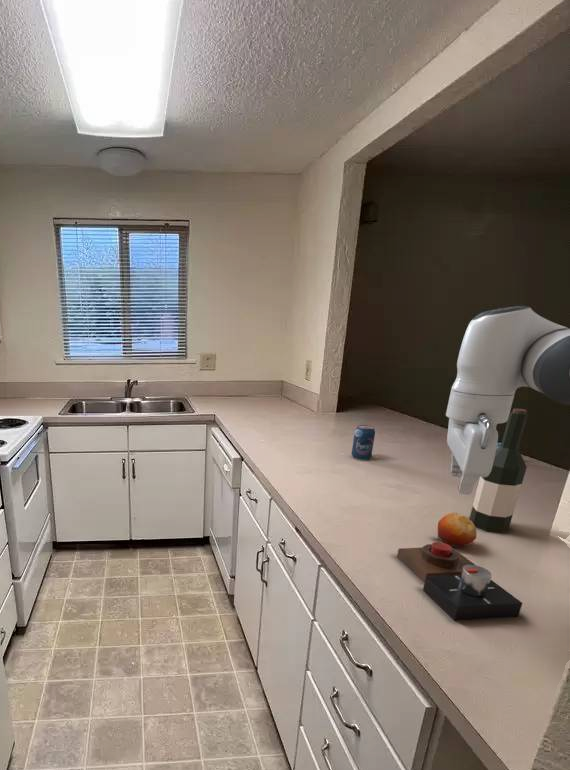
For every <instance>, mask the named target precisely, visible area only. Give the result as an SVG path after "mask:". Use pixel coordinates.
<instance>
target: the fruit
mask: <svg viewBox="0 0 570 770" xmlns="http://www.w3.org/2000/svg"><path fill="white" fill-rule="evenodd" d="M476 539H477V527H475V525H474V524H473V522H472V521H471V520H470V519H469V518H468V517H467V516H465V515H462V514H459V513H458V512H450V513H448V514H445V515H444V516H443V517H441V518H440V520H438V523H437V537H435V538H434V540H441V541H443V543H446V544H448V545H450V546H453V547H455V548H463V547H466V546H468V545H470V544H472V543H473V542H474V541H475V540H476Z"/></svg>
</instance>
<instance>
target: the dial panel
mask: <svg viewBox="0 0 570 770" xmlns="http://www.w3.org/2000/svg"><path fill="white" fill-rule="evenodd" d="M459 580H460V576H450V577H430V578H426V579H425V583H424V585H423V589H422V591H423V592H424V593H425V594H426V595H427V596H428V597H429V598H430V599H431V600H432V601H433V602H434V603H435V604H436V605H437V606H439V608H441V609H442V610H443V611H444V612H445V613H446V614H447V615H448V616H449V617H450V618H451V619H452V620H453V621H467V620H469V621H470V620H486V619H503V618H504V619H506V618H518V617H519V616H520V613H521V609H522V606H523V602H522V601H520V600H519V599H518V598H517V597H515V596H514V595H512V594H511V593H510V592H509V591H507V590H505V589H504V588H503V587H501V586H500V585H499V584H497V583H496V582H495V581H494V580H492V579H491V580H490V583H489V587H488V590H487V593H486V595H485V596H473V595H469V594H467V593H465V592H463V591H462V590H460V589H459V587H458V584H459Z"/></svg>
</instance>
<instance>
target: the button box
mask: <svg viewBox="0 0 570 770" xmlns="http://www.w3.org/2000/svg"><path fill="white" fill-rule="evenodd" d="M431 547H432V543H428V544H425V545H423V546H422V547H404V548H402V547H401V548H397V553H396V554H397V555H396V558H397V559H398V560H399V561H400V562H401V563H402V564H404V565H405V566H406V568H408V569H409V570H410V571H411V572H412V573H413V574H414V575H415V576H416V577H418V578H419V579H420V580H421V581H422V582H423V583H424V584H425V579H426V578H430V577H450V576H461V572H462V568H463V566H465V565H476V563H473V562H472V561H471V560H470V559H468V558H467V557H465V556H464V555H463V554H461V552H458V550H456V549H455V548H454V547H452V551H451V555H450V557H442V556H438V555H435V554H433V553H432V552H431Z"/></svg>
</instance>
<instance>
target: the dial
mask: <svg viewBox="0 0 570 770" xmlns="http://www.w3.org/2000/svg"><path fill="white" fill-rule="evenodd" d="M492 576H493V574H492V572H491V571H490V570H488V569H487V568H485V567H482V566H480V565H476V564H475V565H465V566H463V568H462V572H461V576H460V580H459V584H458V587H459V589H460V590H462V591H463V592H465V593H467V594H469V595H473V596H485V595H486V593H487V590H488V587H489V583H490V580H492Z"/></svg>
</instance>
